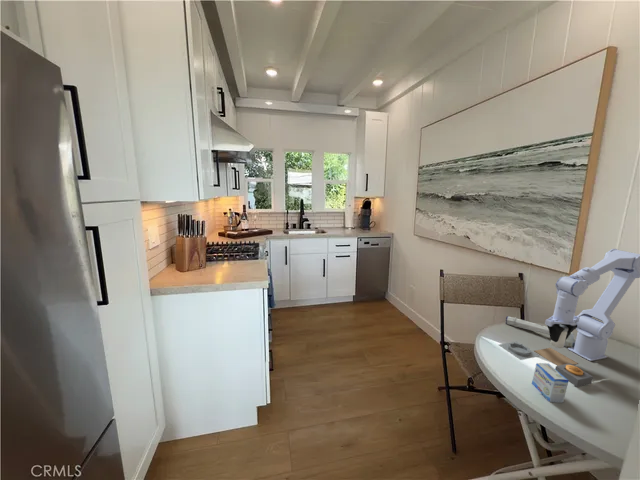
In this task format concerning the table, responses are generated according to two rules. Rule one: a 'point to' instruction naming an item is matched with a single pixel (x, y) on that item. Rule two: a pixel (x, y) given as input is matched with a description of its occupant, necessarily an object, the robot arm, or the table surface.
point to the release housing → (573, 379)
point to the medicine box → (550, 382)
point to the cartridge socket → (519, 350)
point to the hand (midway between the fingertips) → (557, 339)
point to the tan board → (555, 356)
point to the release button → (574, 370)
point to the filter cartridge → (560, 338)
